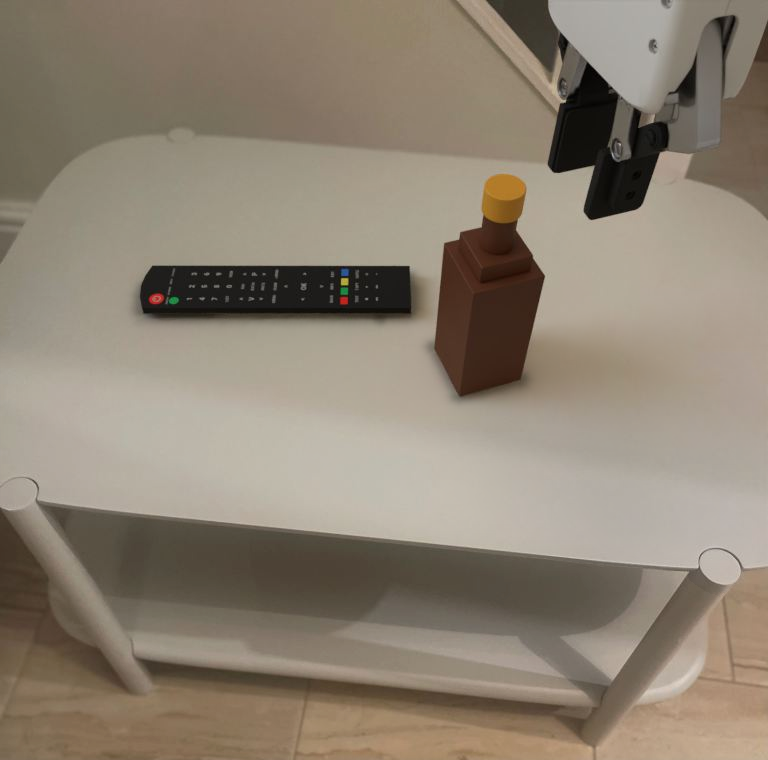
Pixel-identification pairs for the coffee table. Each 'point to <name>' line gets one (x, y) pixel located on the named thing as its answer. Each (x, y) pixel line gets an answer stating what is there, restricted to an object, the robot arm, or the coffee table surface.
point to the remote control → (277, 289)
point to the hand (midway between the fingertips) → (593, 185)
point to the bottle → (488, 294)
